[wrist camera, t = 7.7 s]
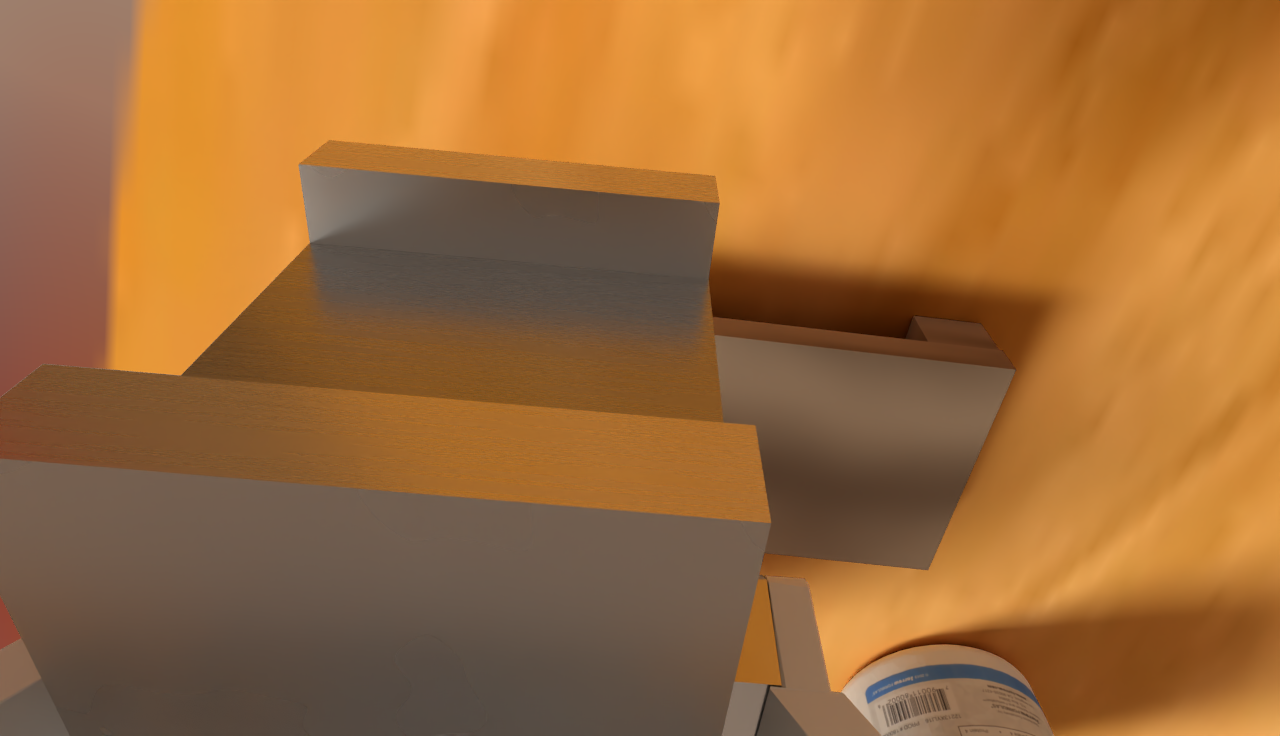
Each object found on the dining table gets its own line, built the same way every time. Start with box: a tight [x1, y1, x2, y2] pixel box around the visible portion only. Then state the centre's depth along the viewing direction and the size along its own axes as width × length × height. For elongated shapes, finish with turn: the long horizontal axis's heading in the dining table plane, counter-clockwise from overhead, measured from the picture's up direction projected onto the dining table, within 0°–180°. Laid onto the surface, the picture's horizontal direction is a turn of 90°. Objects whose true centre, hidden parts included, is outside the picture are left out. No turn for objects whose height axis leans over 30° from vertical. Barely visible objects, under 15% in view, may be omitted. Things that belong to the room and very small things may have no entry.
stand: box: [713, 316, 1016, 570], centre depth 28 cm, size 9×13×3 cm
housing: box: [0, 140, 771, 736], centre depth 10 cm, size 9×5×6 cm, turn 175°
